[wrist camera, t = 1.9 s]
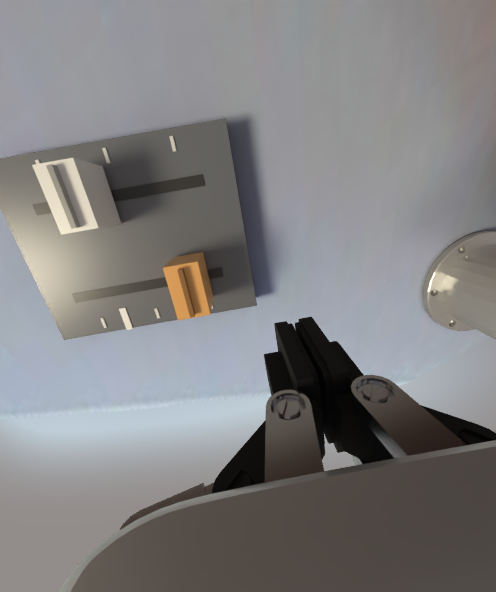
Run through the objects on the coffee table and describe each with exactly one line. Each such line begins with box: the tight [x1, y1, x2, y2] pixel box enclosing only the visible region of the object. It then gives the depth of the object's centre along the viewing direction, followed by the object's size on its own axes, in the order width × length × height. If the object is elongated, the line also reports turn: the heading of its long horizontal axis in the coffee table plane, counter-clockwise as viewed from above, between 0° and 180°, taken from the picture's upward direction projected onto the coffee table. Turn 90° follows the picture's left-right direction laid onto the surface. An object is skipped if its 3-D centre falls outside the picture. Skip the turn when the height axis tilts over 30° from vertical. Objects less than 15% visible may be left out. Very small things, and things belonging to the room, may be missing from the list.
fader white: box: [32, 158, 121, 235], centre depth 21 cm, size 3×5×5 cm, turn 9°
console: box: [0, 118, 257, 340], centre depth 26 cm, size 22×18×2 cm
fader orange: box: [163, 252, 213, 320], centre depth 24 cm, size 3×5×5 cm, turn 9°
